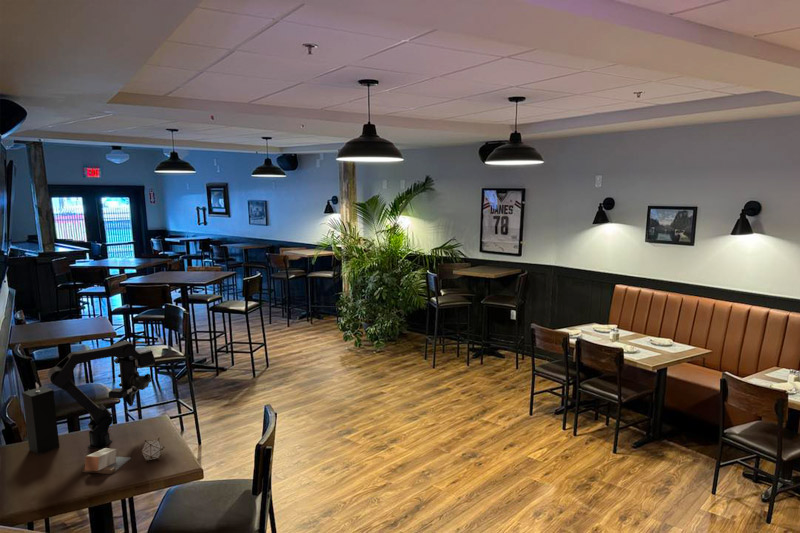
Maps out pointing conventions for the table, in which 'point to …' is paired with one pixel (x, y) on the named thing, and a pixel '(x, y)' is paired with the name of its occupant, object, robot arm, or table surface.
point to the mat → (119, 462)
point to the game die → (152, 449)
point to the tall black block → (41, 419)
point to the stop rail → (105, 470)
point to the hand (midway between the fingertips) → (131, 405)
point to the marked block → (100, 459)
